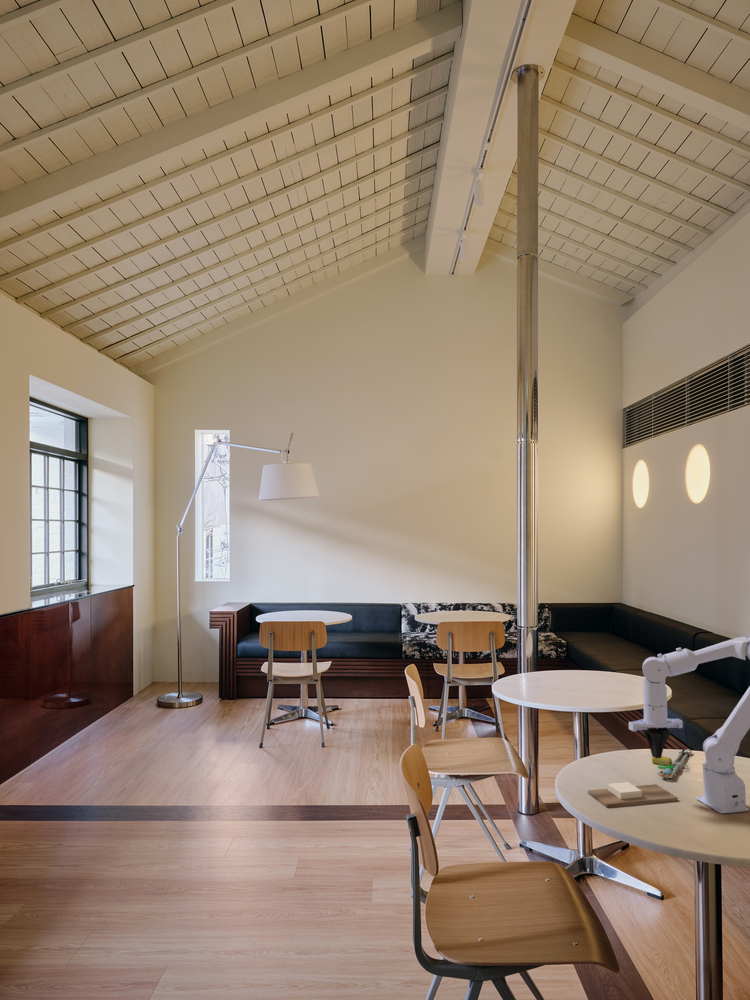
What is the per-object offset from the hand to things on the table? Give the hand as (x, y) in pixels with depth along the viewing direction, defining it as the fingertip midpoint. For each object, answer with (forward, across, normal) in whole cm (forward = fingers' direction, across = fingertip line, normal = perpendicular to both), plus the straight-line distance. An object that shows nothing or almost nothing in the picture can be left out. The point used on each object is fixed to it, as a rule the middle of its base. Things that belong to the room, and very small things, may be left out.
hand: (656, 756), depth 172 cm
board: (+10, +7, 0) cm, 12 cm away
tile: (+8, +6, -1) cm, 10 cm away
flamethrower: (+11, -18, -20) cm, 29 cm away
